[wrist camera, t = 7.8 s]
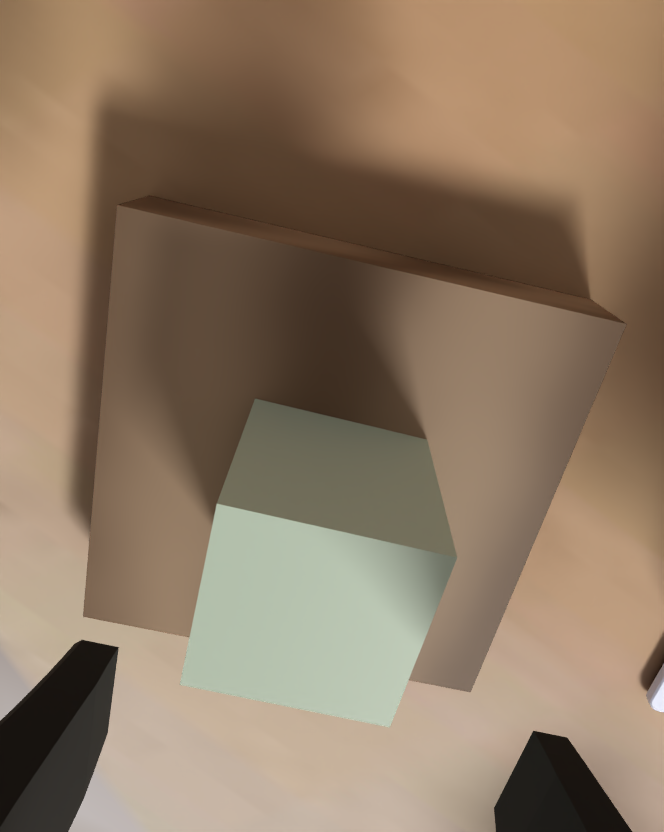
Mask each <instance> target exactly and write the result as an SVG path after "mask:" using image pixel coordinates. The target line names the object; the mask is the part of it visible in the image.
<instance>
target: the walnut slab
mask: <svg viewBox="0 0 664 832" xmlns="http://www.w3.org/2000/svg"><path fill="white" fill-rule="evenodd" d="M626 325H627V324H626V323H624V322H623V321H621V320H620V319H619V318H617V317H616V316H614V315H613V314H611V313H610V312H608V311H607V310H605V309H604V308H603V307H601V306H600V305H598V304H597V303H595V302H594V301H592V300H591V299H587V298H583V297H578V296H574V295H570V294H566V293H561V292H557V291H553V290H549V289H544V288H540V287H536V286H531V285H527V284H523V283H519V282H514V281H510V280H506V279H502V278H497V277H493V276H489V275H485V274H480V273H476V272H472V271H468V270H463V269H459V268H455V267H451V266H446V265H442V264H438V263H434V262H429V261H425V260H421V259H417V258H412V257H408V256H404V255H400V254H395V253H391V252H387V251H382V250H378V249H374V248H370V247H365V246H361V245H357V244H353V243H348V242H344V241H340V240H336V239H331V238H327V237H323V236H319V235H314V234H310V233H306V232H302V231H297V230H293V229H289V228H285V227H280V226H276V225H272V224H268V223H263V222H259V221H255V220H251V219H246V218H242V217H238V216H234V215H229V214H225V213H221V212H216V211H212V210H208V209H204V208H199V207H195V206H191V205H187V204H182V203H178V202H174V201H170V200H165V199H161V198H157V197H153V196H147V197H143V198H140V199H136V200H133V201H129V202H126V203H122V204H119V205H117V212H116V224H115V236H114V248H113V261H112V273H111V285H110V297H109V309H108V321H107V333H106V345H105V358H104V370H103V382H102V394H101V406H100V418H99V430H98V442H97V455H96V467H95V479H94V491H93V503H92V515H91V527H90V539H89V552H88V564H87V576H86V588H85V600H84V612H83V617H88V618H93V619H98V620H103V621H108V622H113V623H118V624H124V625H129V626H134V627H139V628H144V629H149V630H154V631H159V632H165V633H170V634H175V635H180V636H185V637H190V633H191V628H192V623H193V618H194V613H195V608H196V603H197V598H198V593H199V588H200V584H201V579H202V574H203V569H204V564H205V559H206V554H207V549H208V544H209V539H210V534H211V530H212V525H213V520H214V515H215V510H216V505H217V502H218V499H219V496H220V493H221V491H222V488H223V485H224V482H225V480H226V477H227V474H228V471H229V469H230V466H231V463H232V461H233V458H234V455H235V452H236V450H237V447H238V444H239V441H240V439H241V436H242V433H243V430H244V428H245V425H246V422H247V419H248V417H249V414H250V411H251V408H252V406H253V403H254V400H255V399H259V400H263V401H267V402H272V403H276V404H280V405H284V406H288V407H293V408H297V409H301V410H305V411H309V412H314V413H318V414H322V415H326V416H330V417H335V418H339V419H343V420H347V421H351V422H356V423H360V424H364V425H368V426H372V427H377V428H381V429H385V430H389V431H393V432H397V433H402V434H406V435H410V436H414V437H418V438H422V439H427V440H428V444H429V448H430V452H431V456H432V460H433V464H434V468H435V472H436V476H437V480H438V484H439V488H440V491H441V495H442V499H443V503H444V507H445V511H446V515H447V519H448V523H449V527H450V531H451V535H452V539H453V543H454V546H455V550H456V554H457V560H456V562H455V565H454V567H453V570H452V572H451V575H450V577H449V580H448V582H447V585H446V587H445V590H444V592H443V595H442V597H441V600H440V602H439V605H438V607H437V610H436V612H435V615H434V617H433V620H432V622H431V625H430V627H429V630H428V632H427V635H426V637H425V640H424V642H423V645H422V648H421V650H420V653H419V655H418V658H417V660H416V663H415V665H414V668H413V670H412V673H411V675H410V678H409V680H410V681H416V682H421V683H426V684H431V685H436V686H441V687H446V688H451V689H457V690H462V691H467V692H471V690H472V688H473V685H474V683H475V680H476V678H477V676H478V673H479V671H480V669H481V666H482V664H483V662H484V659H485V657H486V655H487V652H488V650H489V647H490V645H491V643H492V640H493V638H494V636H495V633H496V631H497V629H498V626H499V624H500V622H501V619H502V617H503V614H504V612H505V610H506V607H507V605H508V603H509V600H510V598H511V596H512V593H513V591H514V589H515V586H516V584H517V581H518V579H519V577H520V574H521V572H522V570H523V567H524V565H525V563H526V560H527V558H528V556H529V553H530V551H531V548H532V546H533V544H534V541H535V539H536V537H537V534H538V532H539V530H540V527H541V525H542V523H543V520H544V518H545V516H546V513H547V511H548V508H549V506H550V504H551V501H552V499H553V497H554V494H555V492H556V490H557V487H558V485H559V483H560V480H561V478H562V475H563V473H564V471H565V468H566V466H567V464H568V461H569V459H570V457H571V454H572V452H573V450H574V447H575V445H576V442H577V440H578V438H579V435H580V433H581V431H582V428H583V426H584V424H585V421H586V419H587V417H588V414H589V412H590V409H591V407H592V405H593V402H594V400H595V398H596V395H597V393H598V391H599V388H600V386H601V384H602V381H603V379H604V377H605V374H606V372H607V369H608V367H609V365H610V362H611V360H612V358H613V355H614V353H615V351H616V348H617V346H618V344H619V341H620V339H621V336H622V334H623V332H624V329H625V327H626Z"/></svg>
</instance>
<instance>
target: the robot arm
mask: <svg viewBox="0 0 664 832" xmlns="http://www.w3.org/2000/svg"><path fill="white" fill-rule="evenodd" d="M118 648H119V647H115V646H110V645H105V644H100V643H95V642H90V641H85V640H81V641H79V642H77V643H75V644H74V645H73V646H72V647H71V649H70V650H69V651H68V652H67V653H66V654H65V655H64V656H63V658H62V659H61V660H60V661H59V662H58V663H57V664H56V665H55V666H54V667H53V668H52V670H51V671H50V672H49V673H48V674H47V675H46V676H45V677H44V678H43V679H42V680H41V681H40V682H39V683H38V684H37V685H36V686H35V687H34V688H33V689H32V690H31V691H30V692H29V693H28V694H27V695H26V697H24V698H23V699H22V701H20V702H19V703H18V704H17V705H16V706H15V707H14V708H13V709H12V710H11V711H10V712H9V713H8V714H7V715H6V716H5V717H4V718H3V719H2V720H1V721H0V832H68V830H69V828H70V827H71V824H72V822H73V820H74V818H75V816H76V814H77V812H78V810H79V808H80V805H81V803H82V801H83V799H84V796H85V794H86V791H87V788H88V785H89V783H90V780H91V777H92V775H93V772H94V769H95V767H96V764H97V761H98V758H99V756H100V753H101V750H102V747H103V744H104V742H105V739H106V736H107V733H108V725H109V717H110V710H111V702H112V694H113V686H114V679H115V671H116V663H117V655H118ZM646 697H647V700H648V702H649V704H650V706H651V707H652V708H653V709H654V710H656V711H659V712H664V664H663V666H662V667H661V669H660V671H659V672H658V674H657V676H656V678H655V679H654V681H653V683H652V685H651V686H650V688H649V690H648V691H647V695H646ZM494 812H495V823H496V832H632V831H631V829H630V828H629V826H628V825H627V824H626V822H625V821H624V819H623V818H622V816H621V815H620V813H619V812H618V810H617V809H616V808H615V806H614V805H613V803H612V802H611V800H610V799H609V797H608V796H607V794H606V793H605V792H604V790H603V789H602V787H601V786H600V784H599V783H598V781H597V780H596V778H595V777H594V775H593V774H592V773H591V771H590V770H589V768H588V767H587V765H586V764H585V762H584V761H583V759H582V758H581V757H580V755H579V754H578V752H577V751H576V749H575V748H574V747H573V745H572V744H571V742H570V741H569V740H568V738H566V737H561V736H556V735H551V734H546V733H541V732H537V731H533V733H532V735H531V737H530V739H529V741H528V743H527V745H526V747H525V748H524V750H523V752H522V754H521V756H520V758H519V760H518V762H517V764H516V766H515V768H514V770H513V772H512V774H511V776H510V778H509V780H508V782H507V784H506V786H505V788H504V790H503V792H502V794H501V796H500V798H499V800H498V802H497V804H496V805H495V807H494Z"/></svg>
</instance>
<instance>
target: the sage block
mask: <svg viewBox="0 0 664 832" xmlns="http://www.w3.org/2000/svg"><path fill="white" fill-rule="evenodd" d="M456 560H457V554H456V550H455V546H454V543H453V539H452V535H451V531H450V527H449V523H448V519H447V515H446V511H445V507H444V503H443V499H442V495H441V491H440V488H439V484H438V480H437V476H436V472H435V468H434V464H433V460H432V456H431V452H430V448H429V444H428V440H427V439H422V438H418V437H414V436H410V435H406V434H402V433H397V432H393V431H389V430H385V429H381V428H377V427H372V426H368V425H364V424H360V423H356V422H351V421H347V420H343V419H339V418H335V417H330V416H326V415H322V414H318V413H314V412H309V411H305V410H301V409H297V408H293V407H288V406H284V405H280V404H276V403H272V402H267V401H263V400H259V399H255V400H254V403H253V406H252V408H251V411H250V414H249V417H248V419H247V422H246V425H245V428H244V430H243V433H242V436H241V439H240V441H239V444H238V447H237V450H236V452H235V455H234V458H233V461H232V463H231V466H230V469H229V471H228V474H227V477H226V480H225V482H224V485H223V488H222V491H221V493H220V496H219V499H218V502H217V505H216V510H215V515H214V520H213V525H212V530H211V534H210V539H209V544H208V549H207V554H206V559H205V564H204V569H203V574H202V579H201V584H200V588H199V593H198V598H197V603H196V608H195V613H194V618H193V623H192V628H191V633H190V638H189V642H188V647H187V652H186V657H185V662H184V667H183V672H182V677H181V682H180V685H183V686H188V687H193V688H198V689H203V690H208V691H213V692H218V693H223V694H228V695H233V696H238V697H243V698H247V699H252V700H257V701H262V702H267V703H272V704H277V705H282V706H287V707H292V708H297V709H302V710H307V711H312V712H317V713H321V714H326V715H331V716H336V717H341V718H346V719H351V720H356V721H361V722H366V723H371V724H376V725H381V726H386V727H390V725H391V723H392V720H393V718H394V715H395V713H396V710H397V708H398V705H399V703H400V700H401V698H402V695H403V693H404V690H405V688H406V685H407V683H408V680H409V678H410V675H411V673H412V670H413V668H414V665H415V663H416V660H417V658H418V655H419V653H420V650H421V648H422V645H423V642H424V640H425V637H426V635H427V632H428V630H429V627H430V625H431V622H432V620H433V617H434V615H435V612H436V610H437V607H438V605H439V602H440V600H441V597H442V595H443V592H444V590H445V587H446V585H447V582H448V580H449V577H450V575H451V572H452V570H453V567H454V565H455V562H456Z"/></svg>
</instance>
